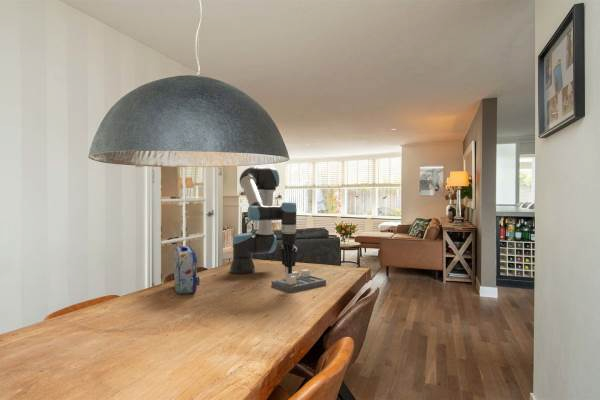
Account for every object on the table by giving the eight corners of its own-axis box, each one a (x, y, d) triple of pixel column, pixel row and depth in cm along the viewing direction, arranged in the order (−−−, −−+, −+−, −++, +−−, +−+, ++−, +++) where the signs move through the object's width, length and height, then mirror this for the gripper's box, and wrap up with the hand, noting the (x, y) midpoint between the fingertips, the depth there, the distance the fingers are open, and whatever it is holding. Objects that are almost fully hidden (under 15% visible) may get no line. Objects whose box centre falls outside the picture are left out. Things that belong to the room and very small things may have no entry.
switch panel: (271, 286, 181) (271, 280, 181) (305, 279, 196) (305, 273, 196) (291, 292, 169) (291, 286, 169) (326, 284, 184) (326, 278, 184)
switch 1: (286, 283, 175) (286, 276, 175) (292, 282, 177) (292, 275, 177) (290, 284, 172) (290, 277, 172) (296, 283, 175) (296, 276, 175)
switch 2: (300, 276, 191) (300, 270, 190) (306, 275, 193) (306, 269, 193) (304, 277, 188) (304, 271, 188) (309, 276, 191) (310, 270, 191)
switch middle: (289, 278, 185) (289, 272, 185) (295, 277, 188) (295, 271, 188) (293, 279, 183) (293, 273, 183) (298, 278, 186) (298, 272, 186)
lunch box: (200, 295, 162) (201, 248, 162) (177, 298, 157) (177, 249, 157) (192, 282, 187) (192, 241, 187) (171, 284, 182) (171, 242, 182)
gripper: (275, 232, 179) (274, 278, 179) (291, 234, 169) (290, 283, 169) (286, 231, 184) (286, 276, 184) (302, 233, 174) (302, 280, 174)
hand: (288, 279), depth 176 cm, fingers closed
